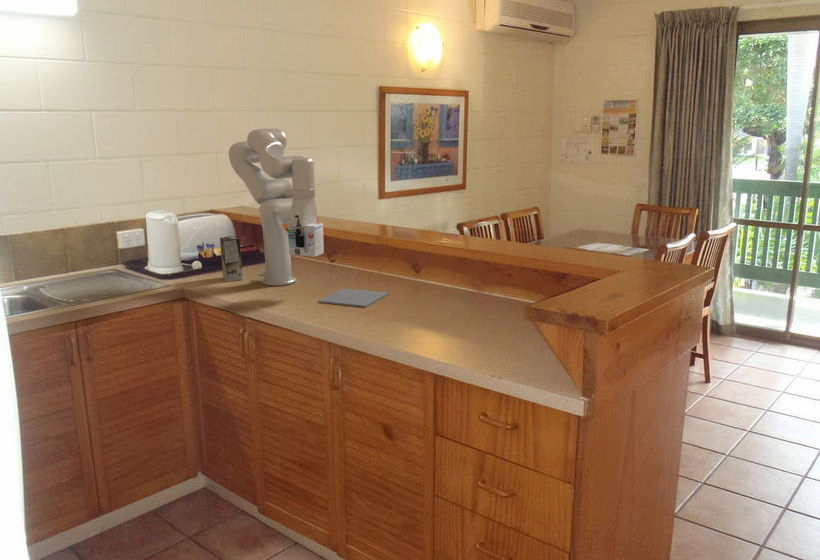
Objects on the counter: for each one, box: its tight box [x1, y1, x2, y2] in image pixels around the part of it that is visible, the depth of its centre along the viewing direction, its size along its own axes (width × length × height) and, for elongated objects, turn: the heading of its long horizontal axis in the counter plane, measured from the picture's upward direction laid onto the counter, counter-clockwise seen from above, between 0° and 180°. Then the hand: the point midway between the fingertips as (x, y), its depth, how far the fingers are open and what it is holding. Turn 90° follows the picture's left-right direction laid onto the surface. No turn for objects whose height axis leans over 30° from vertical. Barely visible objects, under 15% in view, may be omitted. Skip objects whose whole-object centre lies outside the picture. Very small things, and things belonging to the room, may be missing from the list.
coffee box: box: [219, 235, 244, 282], centre depth 266 cm, size 9×6×16 cm
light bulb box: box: [287, 222, 325, 257], centre depth 239 cm, size 11×7×11 cm, turn 71°
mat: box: [317, 288, 389, 309], centre depth 236 cm, size 18×18×1 cm
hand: (306, 244), depth 239 cm, fingers closed on light bulb box, 7 cm apart
